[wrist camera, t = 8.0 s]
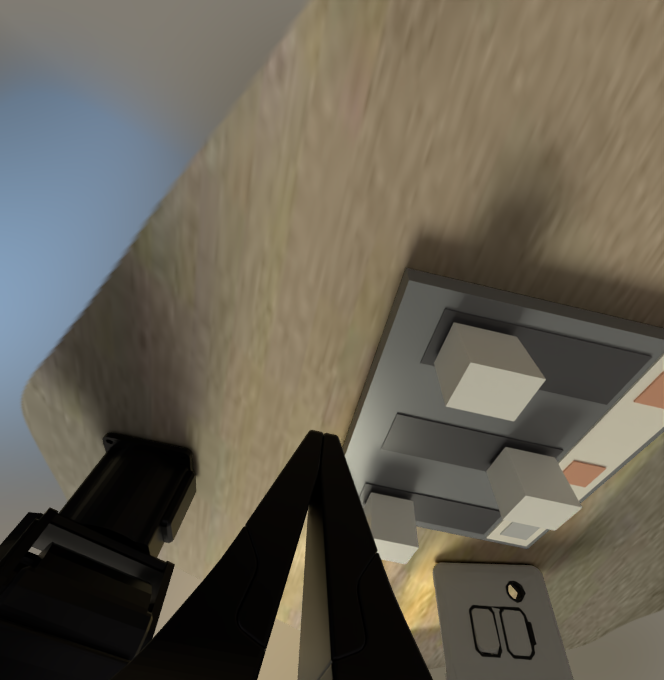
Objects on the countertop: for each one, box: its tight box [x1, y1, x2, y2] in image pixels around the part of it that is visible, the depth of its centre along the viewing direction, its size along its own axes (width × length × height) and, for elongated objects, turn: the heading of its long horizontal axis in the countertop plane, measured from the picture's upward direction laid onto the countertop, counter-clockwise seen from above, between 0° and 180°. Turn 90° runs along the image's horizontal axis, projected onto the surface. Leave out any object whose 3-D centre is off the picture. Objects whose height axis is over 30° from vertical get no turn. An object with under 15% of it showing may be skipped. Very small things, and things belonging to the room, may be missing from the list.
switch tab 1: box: [363, 492, 419, 564], centre depth 22 cm, size 3×2×3 cm
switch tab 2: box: [434, 322, 546, 421], centre depth 15 cm, size 3×2×3 cm
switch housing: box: [342, 268, 664, 549], centre depth 21 cm, size 16×19×2 cm
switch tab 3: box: [486, 447, 582, 531], centre depth 19 cm, size 3×2×3 cm
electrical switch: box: [433, 562, 574, 680], centre depth 28 cm, size 9×5×9 cm, turn 98°
